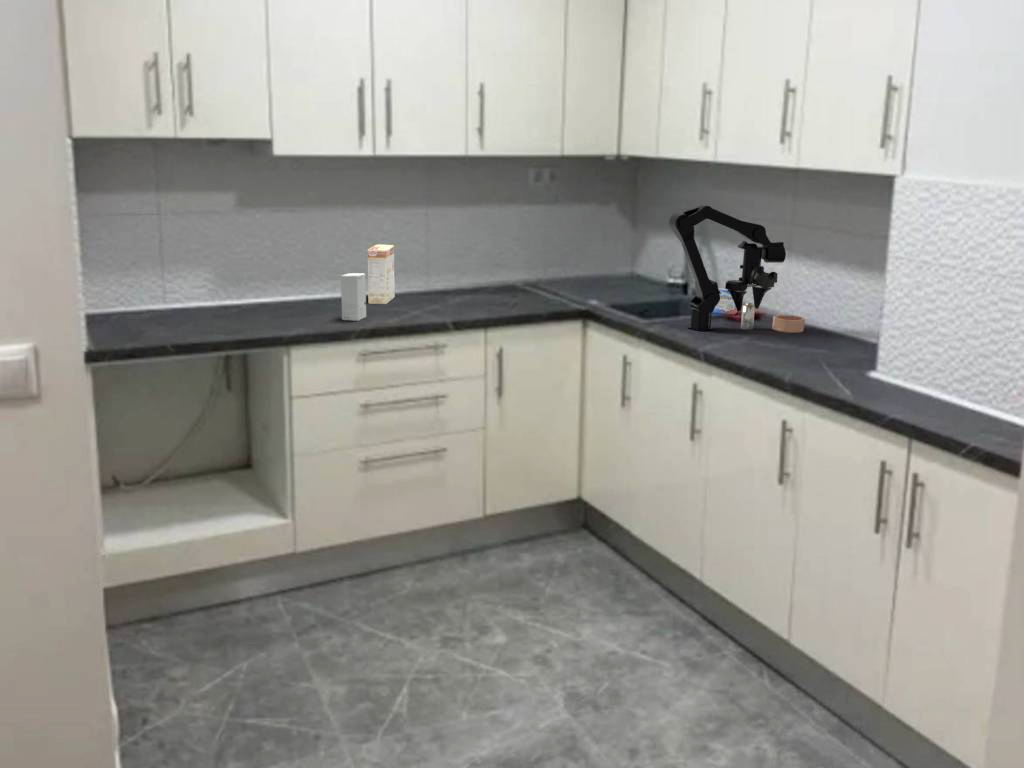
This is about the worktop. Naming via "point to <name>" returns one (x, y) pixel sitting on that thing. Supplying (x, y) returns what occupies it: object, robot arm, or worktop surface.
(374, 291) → the coffeecake box
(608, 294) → the worktop surface
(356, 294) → the skincare box
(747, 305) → the battery cell
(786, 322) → the cup
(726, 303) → the medicine box
